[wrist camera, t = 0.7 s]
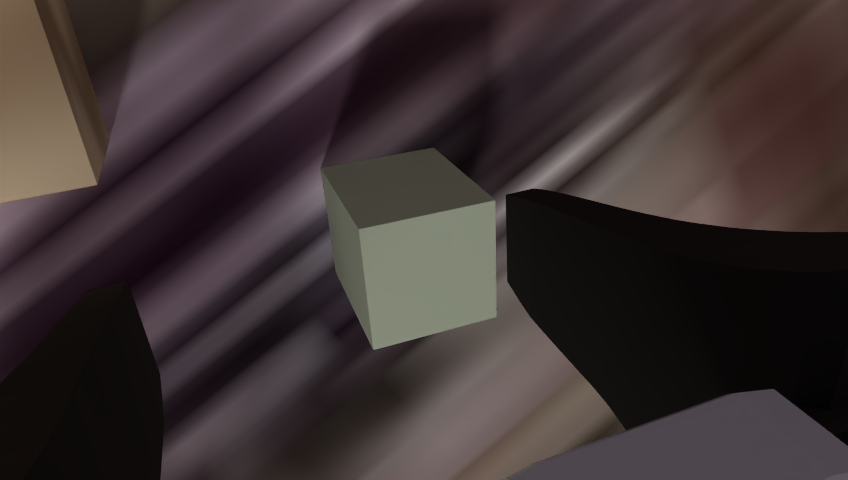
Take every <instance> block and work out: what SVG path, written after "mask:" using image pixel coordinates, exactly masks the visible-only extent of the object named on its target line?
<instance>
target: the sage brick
mask: <svg viewBox="0 0 848 480" xmlns="http://www.w3.org/2000/svg"><path fill="white" fill-rule="evenodd" d="M321 174H322V181H323V188H324V195H325V202H326V209H327V215H328V222H329V229H330V236H331V243H332V250H333V256H334V263H335V270H336V273H337V275H338V278H339V280H340V282H341V284H342V286H343V288H344V290H345V292H346V294H347V296H348V298H349V300H350V302H351V305H352V307H353V309H354V311H355V313H356V315H357V317H358V319H359V321H360V323H361V325H362V327H363V329H364V332H365V334H366V336H367V338H368V340H369V342H370V344H371V346H372V348H373V350H375V349H379V348H382V347H386V346H390V345H394V344H397V343H401V342H405V341H409V340H412V339H416V338H420V337H423V336H427V335H431V334H435V333H438V332H442V331H446V330H450V329H453V328H457V327H461V326H464V325H468V324H472V323H476V322H479V321H483V320H487V319H491V318H494V317H496V225H495V200H494V199H493V198H492V197H491V196H490V195H488V194H487V193H486V192H485V191H484V190H483V189H481V188H480V187H479V186H478V185H477V184H476V183H474V182H473V181H472V180H471V179H470V178H469V177H467V176H466V175H465V174H464V173H463V172H462V171H460V170H459V169H458V168H457V167H456V166H455V165H453V164H452V163H451V162H450V161H449V160H448V159H446V158H445V157H444V156H443V155H442V154H441V153H439V152H438V151H437V150H436V149H435V148H428V149H423V150H417V151H412V152H406V153H401V154H395V155H390V156H384V157H379V158H373V159H368V160H362V161H357V162H351V163H346V164H340V165H335V166H329V167H324V168H321Z"/></svg>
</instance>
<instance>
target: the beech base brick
mask: <svg viewBox="0 0 848 480" xmlns="http://www.w3.org/2000/svg"><path fill="white" fill-rule="evenodd" d="M108 143H109V136H108V133H107V130H106V127H105V123H104V120H103V117H102V114H101V111H100V108H99V105H98V102H97V99H96V96H95V93H94V89H93V86H92V83H91V80H90V77H89V74H88V71H87V68H86V65H85V62H84V58H83V55H82V52H81V49H80V46H79V43H78V40H77V37H76V34H75V31H74V28H73V24H72V21H71V18H70V15H69V12H68V9H67V6H66V3H65V0H0V203H4V202H9V201H14V200H20V199H25V198H30V197H36V196H41V195H46V194H52V193H57V192H62V191H68V190H73V189H79V188H84V187H89V186H95V185H98V181H99V177H100V173H101V170H102V166H103V162H104V158H105V154H106V151H107V147H108Z"/></svg>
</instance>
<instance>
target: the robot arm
mask: <svg viewBox="0 0 848 480" xmlns="http://www.w3.org/2000/svg"><path fill="white" fill-rule="evenodd" d="M506 228H507V281H508V283H509V285H510V286H511V288H512V289H513V291H514V293H515V294H516V296H517V298H518V299H519V301H520V302H521V304H522V305H523V307H524V308H525V310H526V311H527V313H528V314H529V316H530V317H531V318H532V319H533V320H534V322H535V323H536V324H537V325H538V326H539V327H540V329H541V330H542V331H543V332H544V333H545V334H546V335H547V336H548V338H549V339H550V340H551V341H552V342H553V343H554V344H555V345H556V347H557V348H558V349H559V350H560V351H561V352H562V353H563V354H564V355H565V356H566V358H567V359H568V360H569V361H570V362H571V363H572V364H573V365H574V366H575V368H576V369H577V370H578V371H579V372H580V373H581V374H582V375H583V376H584V377H585V379H586V380H587V381H588V382H589V383H590V384H591V385H592V386H593V387H594V389H595V390H596V391H597V392H598V393H599V395H600V396H601V397H602V398H603V399H604V401H605V402H606V403H607V404H608V406H609V407H610V408H611V410H612V411H613V412H614V414H615V415H616V417H617V418H618V419H619V421H620V422H621V424H622V425H623V426H624V428H625V429H626V430H625V431H623V432H620V433H617V434H614V435H611V436H609V437H606V438H603V439H600V440H597V441H595V442H592V443H589V444H586V445H583V446H581V447H578V448H575V449H572V450H569V451H566V452H564V453H561V454H558V455H555V456H552V457H550V458H547V459H544V460H541V461H538V462H536V463H533V464H531V465H529V466H527V467H525V468H524V469H522V470H520V471H518V472H516V473H515V474H513V475H511V476H509V477H508V478H506V479H504V480H848V232H784V231H767V230H751V229H739V228H729V227H721V226H713V225H706V224H698V223H691V222H685V221H679V220H674V219H669V218H664V217H659V216H654V215H649V214H644V213H640V212H636V211H631V210H627V209H623V208H619V207H615V206H611V205H607V204H603V203H599V202H595V201H591V200H587V199H583V198H579V197H575V196H571V195H567V194H563V193H558V192H553V191H548V190H542V189H529V190H525V191H521V192H516V193H512V194H507V195H506ZM163 430H164V416H163V402H162V391H161V380H160V373H159V370H158V367H157V364H156V361H155V359H154V356H153V353H152V350H151V347H150V344H149V341H148V338H147V336H146V333H145V330H144V327H143V324H142V321H141V318H140V315H139V313H138V310H137V307H136V304H135V301H134V298H133V295H132V292H131V290H130V287H129V284H128V281H126V282H121V283H117V284H113V285H108V286H104V287H100V288H95V289H91V290H89V291H88V292H87V293H86V294H84V295H83V296H82V298H81V299H80V300H79V301H78V302H77V303H76V304H75V305H74V306H73V307H72V308H71V310H70V311H69V312H68V313H67V314H66V315H65V316H64V317H63V319H62V320H61V321H60V322H59V323H58V324H57V325H56V326H55V327H54V329H53V330H52V331H51V332H50V333H49V334H48V335H47V336H46V337H45V338H44V340H43V341H42V342H41V343H40V344H39V345H38V346H37V347H36V348H35V349H34V350H33V352H32V353H31V354H30V355H29V356H28V357H27V358H26V359H25V360H24V361H23V362H22V363H21V364H19V365H18V366H17V367H16V368H15V369H14V370H13V371H12V372H11V373H10V374H9V375H8V376H7V377H6V378H5V379H4V380H3V381H2V382H1V383H0V480H160V476H161V462H162V446H163Z"/></svg>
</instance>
